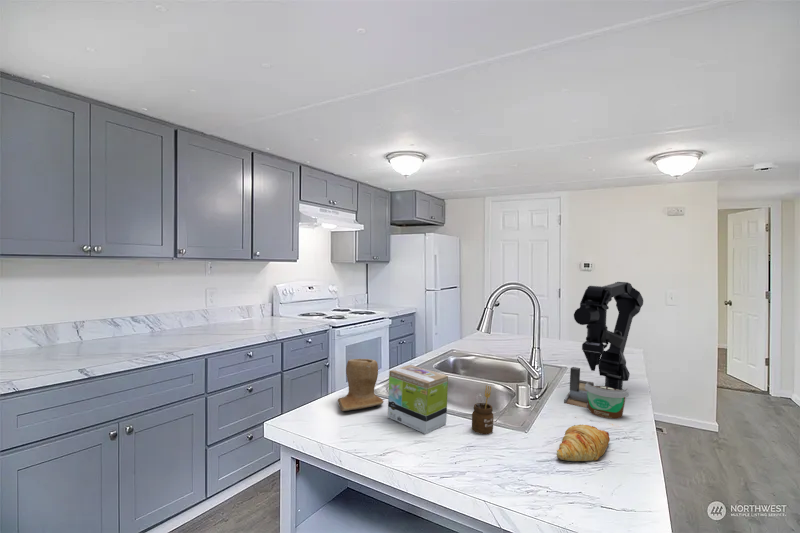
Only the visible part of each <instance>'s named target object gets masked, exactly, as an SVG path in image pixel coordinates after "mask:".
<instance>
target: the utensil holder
mask: <svg viewBox="0 0 800 533" xmlns="http://www.w3.org/2000/svg"><path fill="white" fill-rule="evenodd" d="M491 392H492V386H490V385H487V384H485V391H484V394H483V393H480V395H478V394H476V396H475V401H476V402H475V403H474V406H473V411H472V415H471V430H472V431H473V432H474V433H476V434H478V435H479V434H480V435H489V434H492V433H493V431H494V412H493V406H492V405H491V404H489V403H488V399H489V398H491ZM479 396H481V397H482V399H481V402H478V398H480V397H479ZM485 398H486V399H485ZM483 399H485V402H483Z"/></svg>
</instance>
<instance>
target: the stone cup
mask: <svg viewBox="0 0 800 533" xmlns="http://www.w3.org/2000/svg"><path fill="white" fill-rule="evenodd" d="M345 372H346V373H345V374H346V379H347V384H348V393H347V394H346V395H345V396H342V397H339V398H338V399H337V402H338V406H339V409H340V411H342V412H347V411H354V410H360V409H366V408H370V407H371V408H372V407H374V406H380V405H382V404H384V399H382V398H381V397H380V396H378V395H377V394H375V387H376V383H377V381H378V376H379V364H378V361H376V360H375V359H370V358H354V359H353V358H352V359H348V360H347V363H346V368H345Z"/></svg>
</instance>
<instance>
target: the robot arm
mask: <svg viewBox="0 0 800 533" xmlns="http://www.w3.org/2000/svg"><path fill="white" fill-rule="evenodd" d="M613 299H614V300H615V302H616V303H615V304H616V305H615V306H616V309H617V311H618V316H617V318H616V323H615V326H614V329H613V331H610V330H608V326H607V312H608V311H607V310H609V303H610V302H611V301H613ZM643 305H644V298H643V296H642V294H641V292H640V291H638V290H637V289H636V288H634V287H633V286H632V284H631V283H630V282H628V281H627V282H626V281H617V282H613V283H611V284H607V285H603V286H601V285H600V286H599V285H598V286H597V285H589V286H587V287H586V289H585V290H584V293H583V295H582V297H581V300H580V303H579V307H578V308H577V309H576V310H574V313H573V319H574V321H575V323H577V324H578V325H581V326H585V325H586V326H585V327H586V337H585V341H583V343H582V344H581V351H582V352H583V354H584V356H585V359H586V361H587V364H588V366H589V369H590V370H591V371H592V372H594V371H596V369H597V368H596V367H598V373H599V376H601V377H604V378H605V379H604V386H607V387H611V388H614V389H619V390H623V382H628V381H629V380H630V375H631V374H630V371H629V369H628V367H627V360H626V357H625V354H624V352H625V349H626V344H627V341H628V336H629V335H630V334H629V333H630V329H631V325H632V322H633V318H635V316H637V315H638V314H640V312H641V309H642V307H643ZM609 344H610V345H609ZM608 345H609V348H608V349H607V350H605V349H606V348H607V347H608Z"/></svg>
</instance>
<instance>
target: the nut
mask: <svg viewBox="0 0 800 533" xmlns="http://www.w3.org/2000/svg"><path fill="white" fill-rule="evenodd" d="M579 390H583V391H587V390H586V389H585V384H583V383H579Z"/></svg>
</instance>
